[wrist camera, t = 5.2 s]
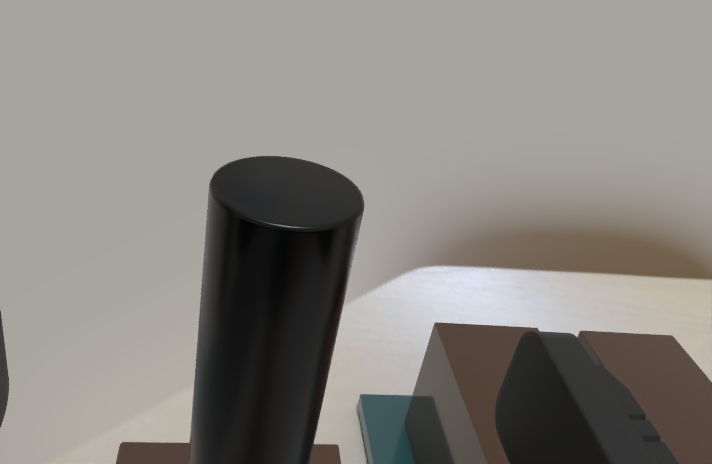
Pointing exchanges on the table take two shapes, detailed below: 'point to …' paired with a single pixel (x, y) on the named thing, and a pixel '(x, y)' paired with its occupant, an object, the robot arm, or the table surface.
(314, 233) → the knife
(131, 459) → the knife block
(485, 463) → the twin blocks on tray
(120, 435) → the table surface
